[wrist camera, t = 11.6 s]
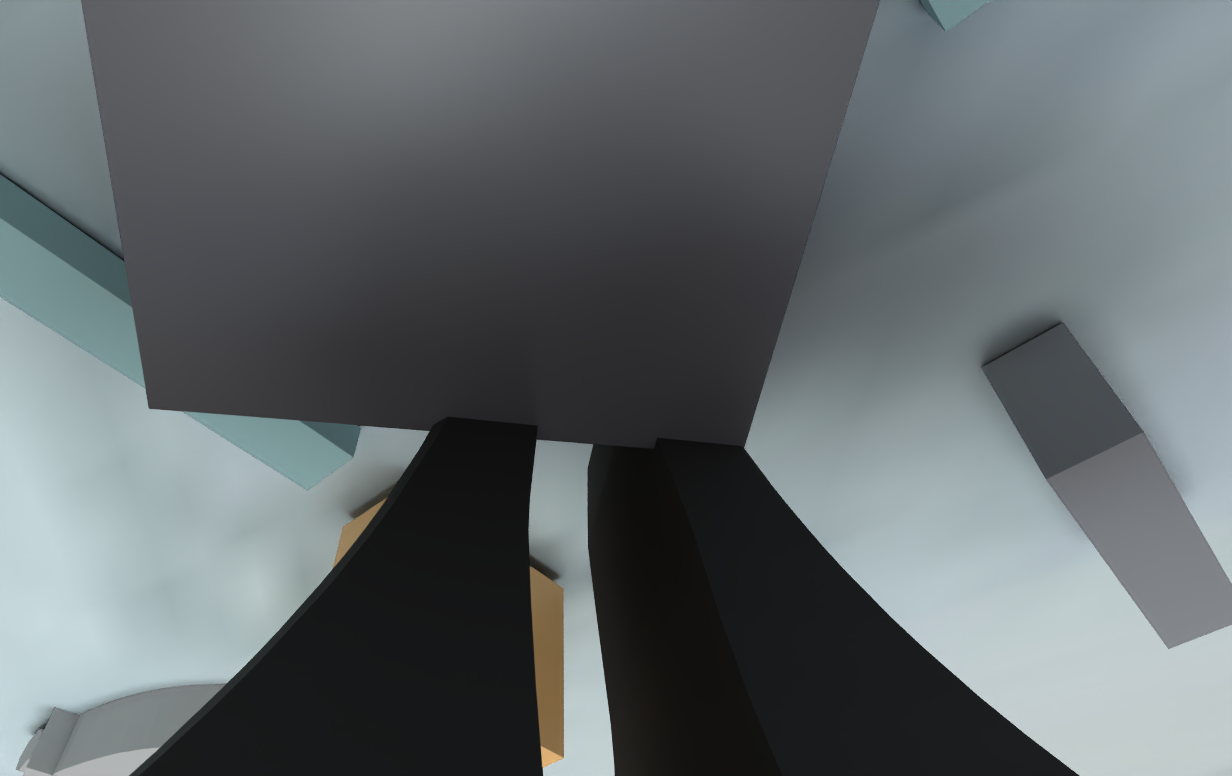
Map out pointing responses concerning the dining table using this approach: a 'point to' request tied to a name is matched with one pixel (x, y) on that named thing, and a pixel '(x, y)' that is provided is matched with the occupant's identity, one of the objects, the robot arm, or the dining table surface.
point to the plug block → (470, 204)
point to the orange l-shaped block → (544, 637)
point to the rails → (104, 323)
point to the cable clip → (1113, 484)
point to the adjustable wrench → (112, 733)
